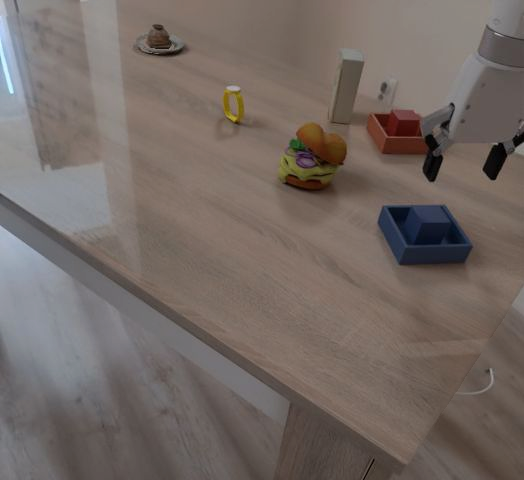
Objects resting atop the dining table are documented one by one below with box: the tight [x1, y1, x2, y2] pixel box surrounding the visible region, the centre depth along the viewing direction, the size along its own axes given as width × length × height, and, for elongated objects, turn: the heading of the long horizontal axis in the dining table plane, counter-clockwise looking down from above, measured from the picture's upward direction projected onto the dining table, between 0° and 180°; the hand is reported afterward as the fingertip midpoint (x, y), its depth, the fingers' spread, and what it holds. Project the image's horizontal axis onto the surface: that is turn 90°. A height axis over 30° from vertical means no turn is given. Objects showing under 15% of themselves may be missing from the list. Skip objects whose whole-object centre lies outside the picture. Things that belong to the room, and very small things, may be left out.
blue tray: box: [377, 204, 474, 266], centre depth 74 cm, size 11×11×3 cm
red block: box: [385, 109, 420, 137], centre depth 95 cm, size 4×4×4 cm
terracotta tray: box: [366, 112, 436, 155], centre depth 96 cm, size 11×11×3 cm
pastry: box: [134, 23, 185, 55], centre depth 117 cm, size 12×12×5 cm
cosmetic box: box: [328, 46, 365, 125], centre depth 97 cm, size 6×4×12 cm
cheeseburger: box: [277, 121, 348, 190], centre depth 82 cm, size 10×11×10 cm
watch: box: [222, 85, 245, 123], centre depth 94 cm, size 6×3×6 cm, turn 34°
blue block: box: [403, 204, 450, 245], centre depth 73 cm, size 4×4×4 cm
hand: (458, 176), depth 71 cm, fingers open, 9 cm apart
